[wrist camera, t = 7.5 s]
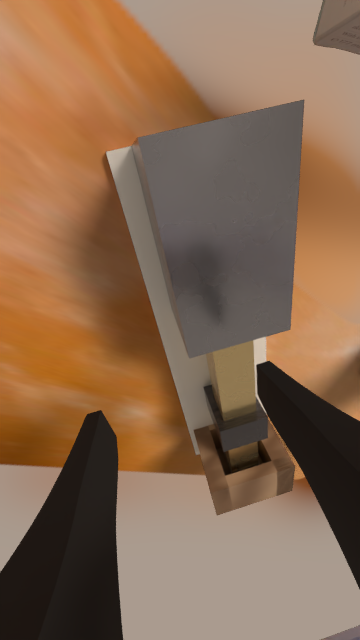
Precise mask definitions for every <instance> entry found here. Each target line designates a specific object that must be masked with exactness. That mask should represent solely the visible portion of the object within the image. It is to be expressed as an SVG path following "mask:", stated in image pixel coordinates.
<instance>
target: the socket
mask: <svg viewBox="0 0 360 640" xmlns="http://www.w3.org/2000/svg"><path fill="white" fill-rule="evenodd" d="M194 434H195V438H196V441H197V445H198V449H199V452H200V456H201V460H202V463H203V467H204V471H205V474H206V478H207V481H208V485H209V489H210V493H211V496H212V500H213V503H214V506H215V510H216V514H217V515H220V514H223V513H225V512H229V511H232V510H235V509H238V508H241V507H244V506H247V505H250V504H253V503H256V502H259V501H262V500H265V499H268V498H271V497H275V496H278V495H281V494H284V493H286V492H290V491H292V488H293V480H294V471H295V465H294V463H293V462H292V460H291V458H290V456H289V455H288V453H287V451H286V450H285V448H284V446H283V444H282V443H281V441H280V439H279V437H278V436H277V434H276V432H275V430H274V429H273V427H272V425H271V423H270V422H269V420H268V438H267V439H264V440H260V441H258V462H259V465H258V466H255V467H252V468H248V469H245V470H242V471H239V472H236V473H233V474H231V472H230V469H229V466H228V463H227V461H226V458H225V455H224V452H223V449H222V446H221V443H220V440H219V438H218V435H217V432H216V429H215V426H214V424H211V425H208V426H205V427H202V428H198V429H195V430H194Z"/></svg>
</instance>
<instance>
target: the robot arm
mask: <svg viewBox="0 0 360 640" xmlns="http://www.w3.org/2000/svg"><path fill="white" fill-rule="evenodd" d="M256 371H257V394H258V397H259V399H260V401H261V403H262V405H263V407H264V409H265V411H266V413H267V415H268V417H269V418H270V420H271V421H272V423H273V425H274V426H275V428H276V429H277V431H278V433H279V434H280V436H281V437H282V439H283V440H284V442H285V444H286V445H287V447H288V448H289V450H290V451H291V453H292V455H293V456H294V458H295V459H296V461H297V463H298V464H299V466H300V468H301V469H302V471H303V473H304V475H305V477H306V479H307V481H308V483H309V484H310V487H311V488H312V490H313V492H314V494H315V496H316V498H317V500H318V502H319V504H320V506H321V508H322V510H323V512H324V514H325V516H326V518H327V520H328V522H329V524H330V527H331V528H332V531H333V533H334V535H335V537H336V539H337V541H338V543H339V545H340V547H341V549H342V551H343V554H344V556H345V558H346V560H347V563H348V565H349V567H350V569H351V571H352V573H353V575H354V578H355V580H356V582H357V584H358V587H359V589H360V421H358V420H357V419H355V418H353V417H351V416H349V415H348V414H346V413H344V412H342V411H341V410H339V409H337V408H336V407H334V406H333V405H331V404H329V403H328V402H326V401H325V400H323V399H321V398H320V397H318V396H317V395H315V394H314V393H312V392H311V391H310V390H308V389H307V388H305V387H304V386H302V385H301V384H299V383H298V382H297V381H295V380H294V379H293V378H291V377H290V376H289V375H287V374H286V373H285V372H283V371H282V370H281V369H279V368H278V367H277V366H275V365H274V364H273V363H272V362H270V361H267V362H263V363H260V364H257V365H256ZM117 481H118V449H117V437H116V435H115V433H114V432H113V430H112V428H111V426H110V425H109V423H108V421H107V420H106V418H105V416H104V414H103V413H102V411H101V410H100V411H97V412H93V413H90V414H87V416H86V417H85V420H84V422H83V425H82V427H81V429H80V432H79V434H78V436H77V438H76V441H75V443H74V445H73V447H72V450H71V452H70V454H69V456H68V458H67V460H66V462H65V464H64V467H63V469H62V471H61V473H60V475H59V477H58V478H57V481H56V482H55V484H54V486H53V488H52V490H51V492H50V494H49V496H48V498H47V499H46V501H45V503H44V505H43V506H42V508H41V510H40V512H39V513H38V515H37V517H36V519H35V520H34V522H33V523H32V525H31V527H30V528H29V530H28V532H27V533H26V535H25V536H24V538H23V539H22V541H21V542H20V544H19V545H18V547H17V549H16V550H15V552H14V553H13V555H12V556H11V558H10V559H9V561H8V562H7V564H6V565H5V566H4V568H3V569H2V571H1V572H0V640H123V634H122V623H121V610H120V597H119V583H118V566H117V546H116V504H117ZM321 640H360V625H359V626H356V627H354V628H351V629H348V630H345V631H343V632H340V633H337V634H335V635H332V636H329V637H327V638H324V639H321Z"/></svg>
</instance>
